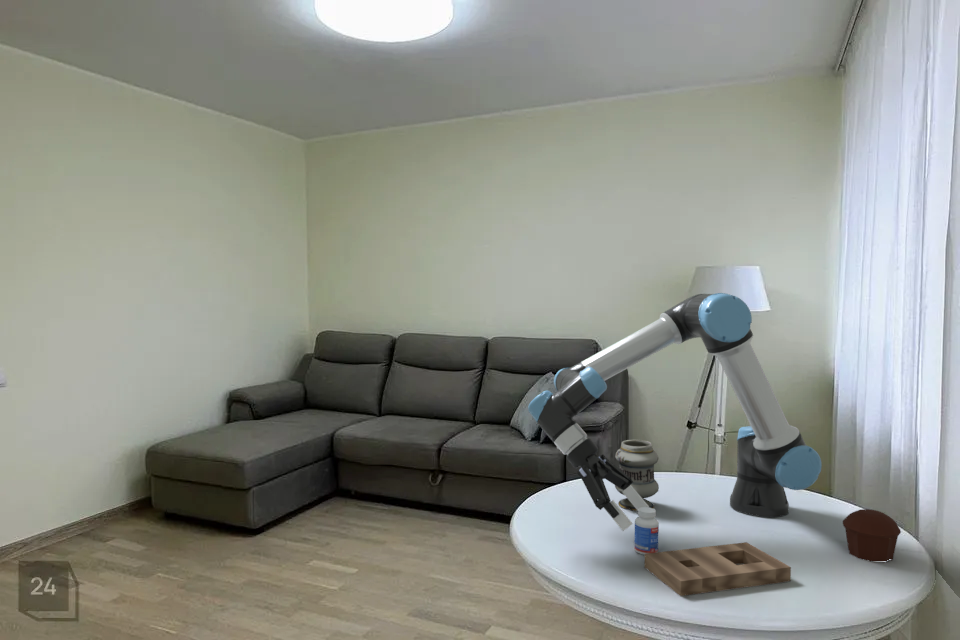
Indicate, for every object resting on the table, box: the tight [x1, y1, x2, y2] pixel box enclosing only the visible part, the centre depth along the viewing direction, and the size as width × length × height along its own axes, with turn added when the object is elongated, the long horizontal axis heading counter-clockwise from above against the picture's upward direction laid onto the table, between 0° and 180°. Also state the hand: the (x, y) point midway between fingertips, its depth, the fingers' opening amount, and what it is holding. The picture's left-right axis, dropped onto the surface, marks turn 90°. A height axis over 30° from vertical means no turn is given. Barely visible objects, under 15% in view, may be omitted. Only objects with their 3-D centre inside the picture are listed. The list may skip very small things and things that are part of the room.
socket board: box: [644, 541, 792, 597], centre depth 138 cm, size 26×14×3 cm, turn 105°
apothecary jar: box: [614, 439, 660, 512], centre depth 183 cm, size 12×12×18 cm
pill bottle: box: [633, 507, 660, 556], centre depth 150 cm, size 6×5×10 cm
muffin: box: [842, 508, 902, 562], centre depth 149 cm, size 12×11×10 cm
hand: (636, 518), depth 151 cm, fingers open, 13 cm apart
